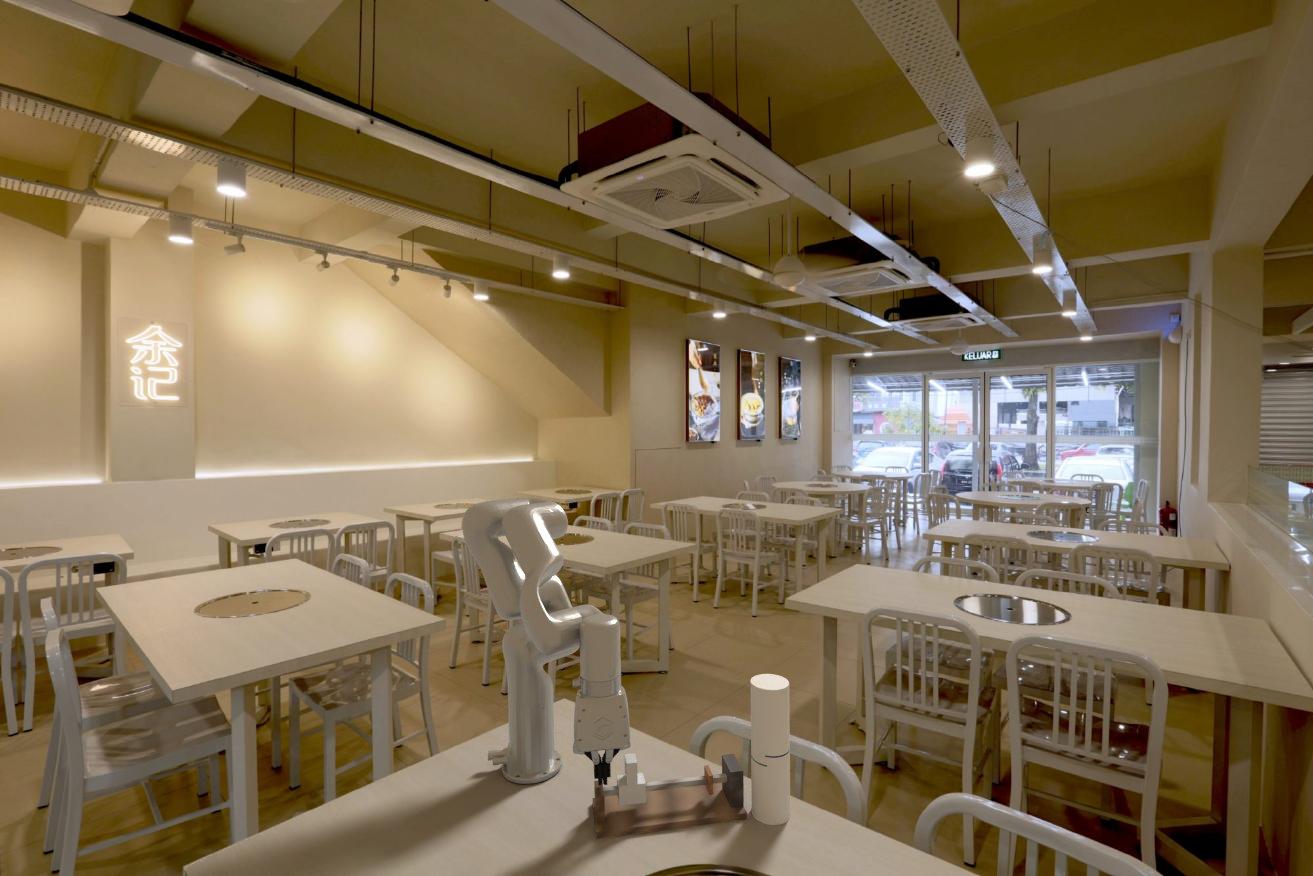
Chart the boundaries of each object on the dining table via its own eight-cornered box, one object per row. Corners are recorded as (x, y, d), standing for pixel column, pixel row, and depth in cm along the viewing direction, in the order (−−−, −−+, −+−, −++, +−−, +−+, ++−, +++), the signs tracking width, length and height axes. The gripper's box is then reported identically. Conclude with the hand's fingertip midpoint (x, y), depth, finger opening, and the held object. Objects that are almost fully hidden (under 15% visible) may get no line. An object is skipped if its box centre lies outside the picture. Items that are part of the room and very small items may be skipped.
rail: (596, 838, 107) (595, 794, 107) (592, 804, 117) (591, 763, 117) (747, 819, 112) (746, 776, 112) (731, 787, 122) (731, 748, 122)
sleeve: (619, 805, 111) (618, 765, 111) (617, 794, 115) (616, 754, 115) (646, 802, 112) (645, 762, 112) (643, 791, 116) (642, 751, 115)
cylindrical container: (790, 827, 110) (789, 691, 109) (750, 822, 111) (749, 688, 111) (789, 803, 117) (788, 675, 116) (752, 799, 118) (751, 672, 118)
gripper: (560, 696, 107) (562, 798, 107) (643, 688, 109) (645, 788, 110) (559, 678, 114) (561, 774, 115) (637, 672, 117) (639, 765, 117)
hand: (602, 780), depth 112 cm, fingers closed
